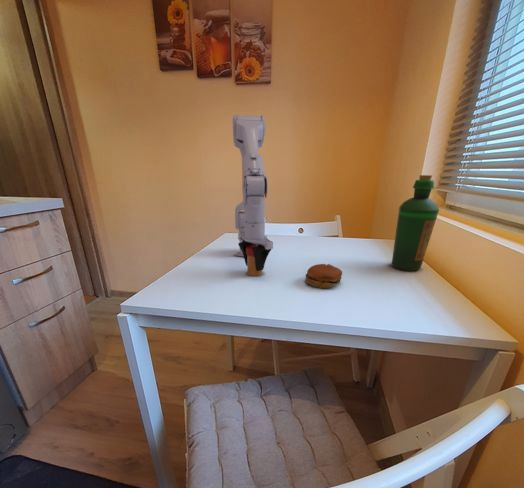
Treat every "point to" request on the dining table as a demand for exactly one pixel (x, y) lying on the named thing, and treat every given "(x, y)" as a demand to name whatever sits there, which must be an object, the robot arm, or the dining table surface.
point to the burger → (323, 276)
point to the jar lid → (250, 250)
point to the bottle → (415, 226)
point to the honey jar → (252, 267)
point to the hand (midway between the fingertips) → (254, 267)
